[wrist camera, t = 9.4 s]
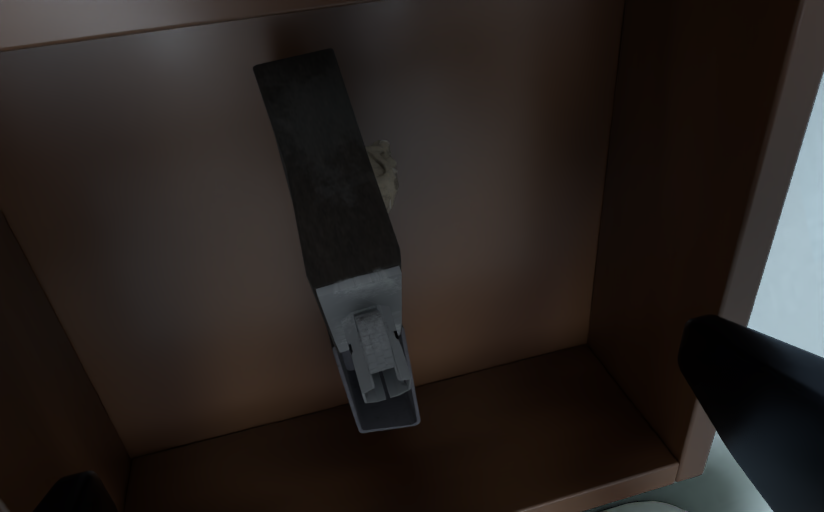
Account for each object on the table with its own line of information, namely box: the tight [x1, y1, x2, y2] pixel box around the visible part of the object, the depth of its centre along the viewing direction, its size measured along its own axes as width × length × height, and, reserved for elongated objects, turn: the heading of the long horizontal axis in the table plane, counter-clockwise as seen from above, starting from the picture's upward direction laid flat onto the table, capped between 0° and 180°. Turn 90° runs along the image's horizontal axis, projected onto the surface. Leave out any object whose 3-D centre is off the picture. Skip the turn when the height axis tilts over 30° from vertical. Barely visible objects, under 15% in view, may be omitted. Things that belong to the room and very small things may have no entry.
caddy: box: [0, 0, 824, 512], centre depth 12 cm, size 15×13×5 cm
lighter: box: [253, 48, 421, 433], centre depth 12 cm, size 8×2×5 cm
